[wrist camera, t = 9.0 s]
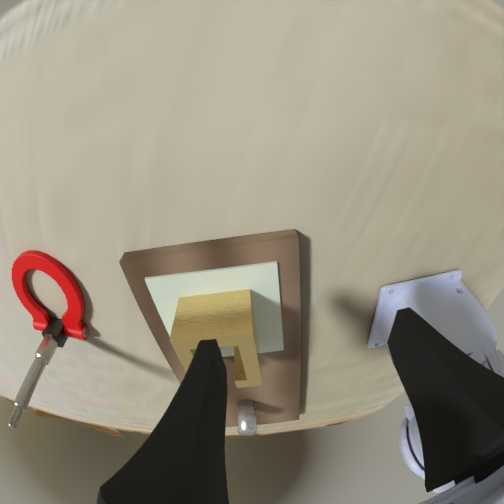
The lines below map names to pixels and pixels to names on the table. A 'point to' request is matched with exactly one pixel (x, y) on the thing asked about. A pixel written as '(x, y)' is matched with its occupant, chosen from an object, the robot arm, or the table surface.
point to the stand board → (272, 363)
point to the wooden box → (220, 331)
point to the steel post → (246, 417)
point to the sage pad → (225, 280)
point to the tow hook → (45, 319)
